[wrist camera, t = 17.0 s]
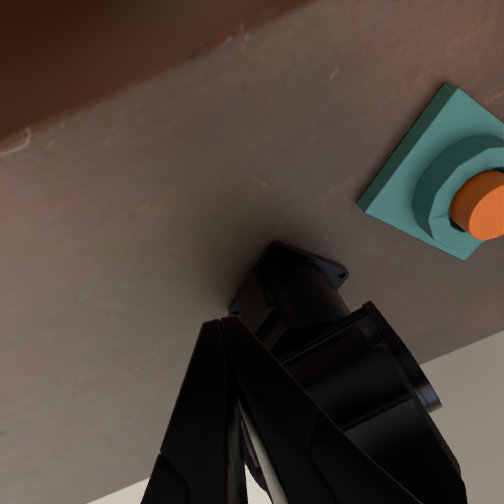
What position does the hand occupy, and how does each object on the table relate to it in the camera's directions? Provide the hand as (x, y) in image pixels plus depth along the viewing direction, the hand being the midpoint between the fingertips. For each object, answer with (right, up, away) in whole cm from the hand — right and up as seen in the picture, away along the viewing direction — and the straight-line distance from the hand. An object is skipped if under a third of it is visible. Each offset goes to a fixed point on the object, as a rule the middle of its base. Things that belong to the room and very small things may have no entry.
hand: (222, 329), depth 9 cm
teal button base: (+13, +6, +15) cm, 21 cm away
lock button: (+14, +5, +13) cm, 20 cm away
